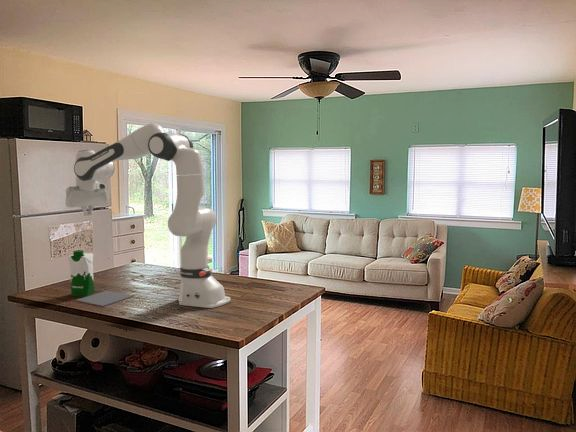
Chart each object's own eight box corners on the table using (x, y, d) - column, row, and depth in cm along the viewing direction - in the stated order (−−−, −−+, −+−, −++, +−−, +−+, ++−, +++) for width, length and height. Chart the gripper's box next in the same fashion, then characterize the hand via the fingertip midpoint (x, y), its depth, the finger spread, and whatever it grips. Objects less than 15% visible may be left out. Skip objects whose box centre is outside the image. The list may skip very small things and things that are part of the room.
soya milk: (68, 297, 208) (65, 251, 205) (79, 291, 217) (76, 248, 214) (87, 297, 207) (85, 252, 204) (97, 291, 216) (95, 248, 213)
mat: (133, 296, 207) (133, 295, 207) (102, 306, 194) (102, 305, 194) (106, 291, 216) (106, 290, 216) (75, 300, 202) (75, 299, 202)
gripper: (70, 187, 208) (71, 218, 210) (109, 184, 225) (110, 213, 227) (61, 186, 211) (63, 217, 213) (100, 184, 229) (101, 213, 230)
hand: (87, 215), depth 220 cm, fingers closed
